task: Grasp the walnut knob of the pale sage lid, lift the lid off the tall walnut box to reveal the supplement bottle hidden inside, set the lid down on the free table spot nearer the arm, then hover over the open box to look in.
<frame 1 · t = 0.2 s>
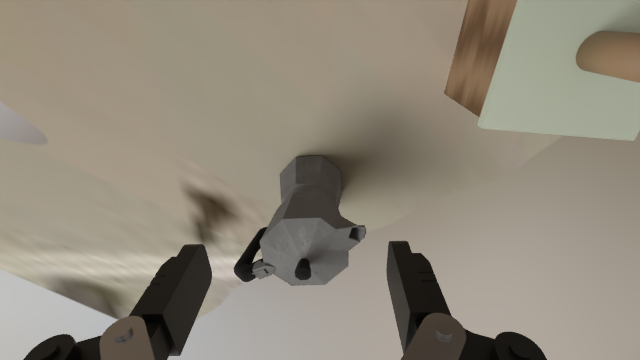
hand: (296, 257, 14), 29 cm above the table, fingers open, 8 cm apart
box: (515, 40, 36), on the table
coffeepot: (304, 185, 45), on the table
lid: (586, 50, 26), point 11 cm above the table, touching box
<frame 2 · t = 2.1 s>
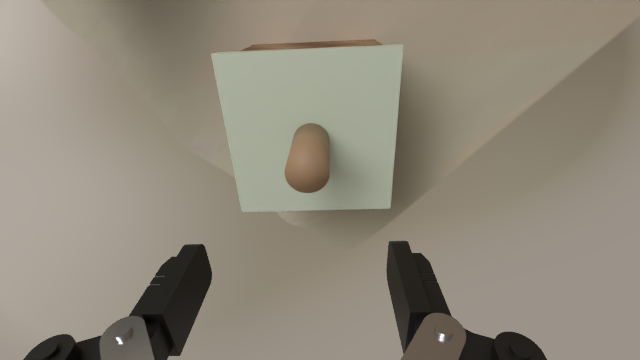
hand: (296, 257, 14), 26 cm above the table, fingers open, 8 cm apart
box: (316, 102, 36), on the table
lid: (311, 136, 27), point 11 cm above the table, touching box
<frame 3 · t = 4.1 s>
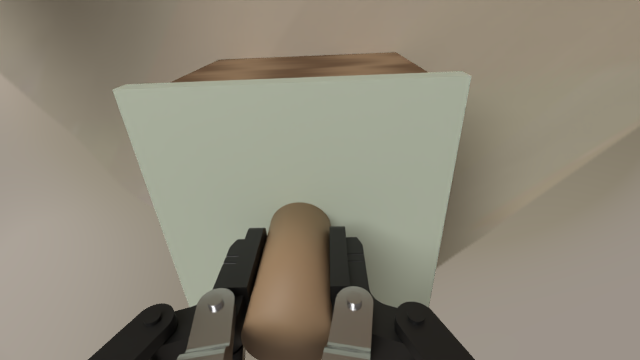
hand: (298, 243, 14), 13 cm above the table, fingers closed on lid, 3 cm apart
box: (311, 139, 26), on the table
lid: (302, 216, 16), point 11 cm above the table, touching box, gripper
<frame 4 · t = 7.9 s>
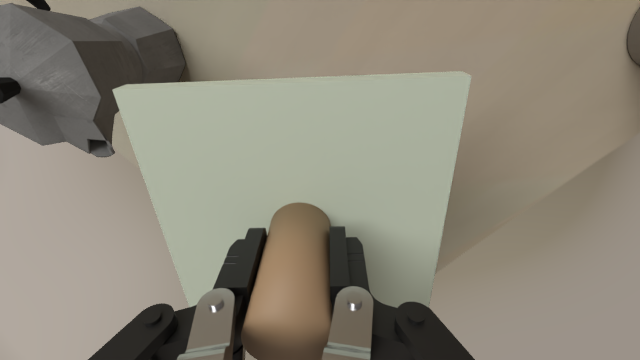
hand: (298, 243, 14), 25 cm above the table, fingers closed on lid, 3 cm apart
coffeepot: (136, 44, 34), on the table
lid: (302, 216, 16), point 23 cm above the table, touching gripper
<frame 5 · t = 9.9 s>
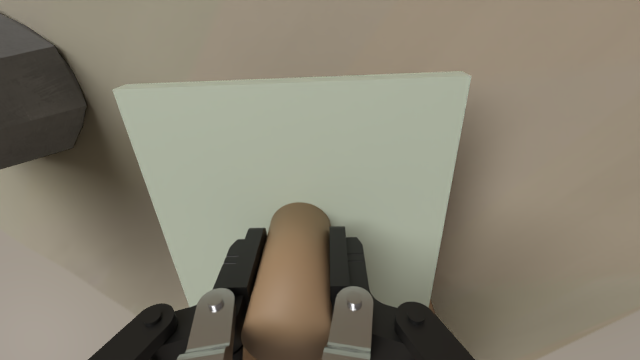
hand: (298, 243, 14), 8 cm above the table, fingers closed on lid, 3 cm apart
coffeepot: (0, 72, 20), on the table
lid: (302, 216, 16), point 6 cm above the table, touching gripper
when the fingers open (4 cm above the table, at t = 11.6 s): lid drops 2 cm, on the table.
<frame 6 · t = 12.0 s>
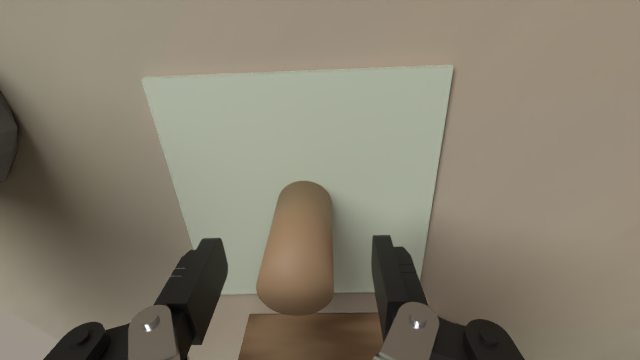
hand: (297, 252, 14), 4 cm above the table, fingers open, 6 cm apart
lid: (305, 194, 18), on the table
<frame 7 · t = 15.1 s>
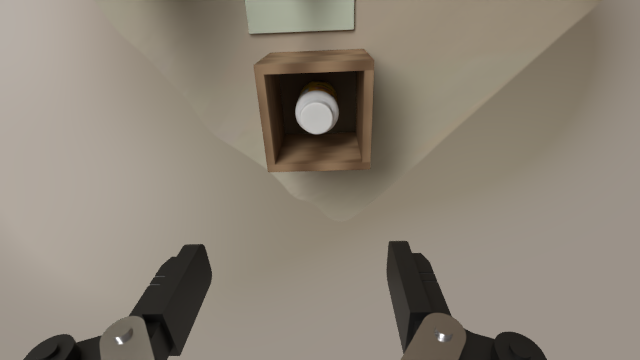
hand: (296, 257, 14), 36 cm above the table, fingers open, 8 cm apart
box: (318, 98, 46), on the table
supplement bottle: (318, 97, 46), resting in box
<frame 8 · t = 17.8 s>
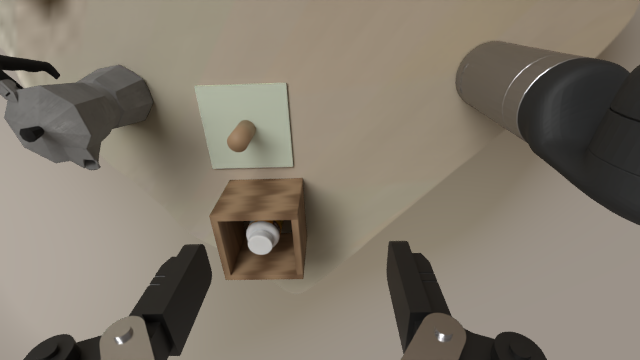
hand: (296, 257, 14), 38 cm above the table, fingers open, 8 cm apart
box: (270, 209, 58), on the table
coffeepot: (118, 88, 48), on the table
lid: (248, 126, 51), on the table
supplement bottle: (270, 209, 59), resting in box
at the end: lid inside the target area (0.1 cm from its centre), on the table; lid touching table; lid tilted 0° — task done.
